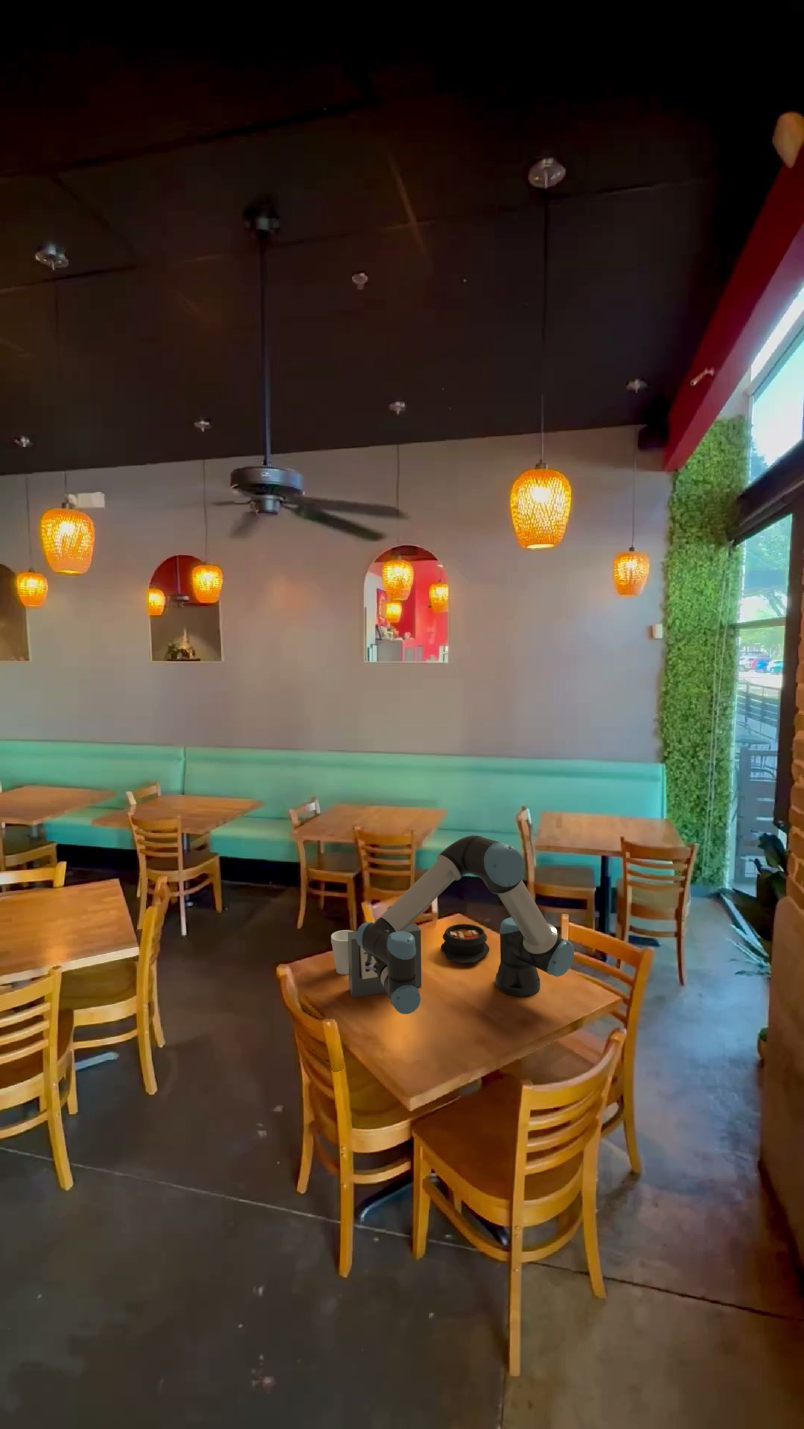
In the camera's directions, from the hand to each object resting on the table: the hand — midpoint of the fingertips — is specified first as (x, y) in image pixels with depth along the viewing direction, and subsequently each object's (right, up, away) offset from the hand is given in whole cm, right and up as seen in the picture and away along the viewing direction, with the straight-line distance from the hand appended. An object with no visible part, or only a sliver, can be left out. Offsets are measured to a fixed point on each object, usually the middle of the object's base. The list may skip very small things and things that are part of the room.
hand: (373, 941), depth 203 cm
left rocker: (-2, -14, +7) cm, 16 cm away
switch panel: (+2, -21, +18) cm, 28 cm away
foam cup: (-12, -20, +28) cm, 36 cm away
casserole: (+33, -19, +40) cm, 56 cm away
